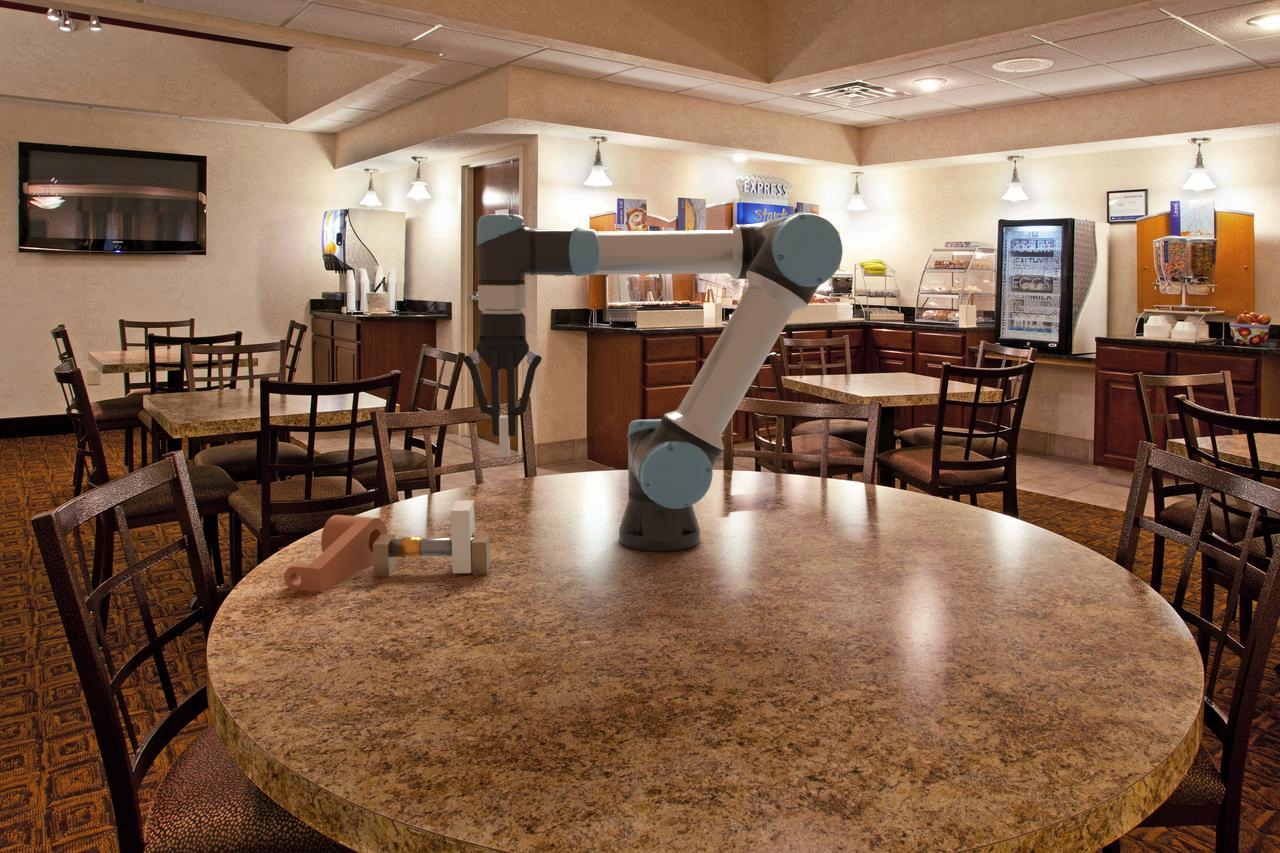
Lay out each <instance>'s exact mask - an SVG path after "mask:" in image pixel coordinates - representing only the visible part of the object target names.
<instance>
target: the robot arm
mask: <svg viewBox="0 0 1280 853" xmlns="http://www.w3.org/2000/svg"><path fill="white" fill-rule="evenodd" d="M476 228H477V230H476V259H477V260H476V262H477V265H476V266H477V297H478V298H477V300H478V305H477V306H478V309H479V310H480V311H481V313H479V315H478V337H479V338H478V343H477V344H476V347H475V350H472V352H470V353H469V354H465V356H463V358H462V360H463V363H464V364H465V365H466V367H467V368H468V370H469V373H470V375H471V380H472V383H473V387H474V391H475V394H476V398H477V403H478V406H479V410H480V413H482V414H486V415H489V416H490V417H491V423H492V424H491V428H492V431H491V432H492V435H493V437H498V440H499V442H498V443H499V444H498V445H499V448H498V449H499V458H508V457H510V454H511V449H510V448H511V447H510V446H511V445H510V444H511V442H510V439H511V438H510V437H515V436H516V433H517V416H518V415H521V414H524V413H525V412H527V409H528V405H529V400H530V395H531V392H532V391H531V390H532V387H533V382H534V378H535V374H536V370H537V368H538V367H539V365H540V363H541V362H542V359H543V356H542V355H541V354H539V353H536V352H534V351H533V350H531V349H530V345H529V343H528V342H527V336H526V334H527V330H526V329H527V327H526V319H527V318H526V315H525V313H523V312H522V311H524V310H525V309H526V281H525V280H526V279H525V278H526V275H527V276H528V275H530V276H537V275H538V276H553V277H564V276H576V277H582V276H593V275H597V276H599V275H600V276H601V275H602V276H603V275H612V276H613V275H694V274H695V275H699V274H701V275H703V274H705V275H706V274H707V275H708V274H709V275H711V274H714V275H715V274H718V275H719V274H722V275H723V274H728V275H729V276H730V277H731V278H732V279H734V280H747V283H748V285H747V286H748V287H747V289H746V290H745V292H744V293H743V296H742V297H741V299H740V301H739V302H738V304H737V306H736V308H735V310H734V311H733V312H732V314H731V316H730V318H729V320H728V321H727V324H726V325H725V327H724V328H723V330H722V332H721V334H720V336H719V337H718V339H717V341H716V343H715V344H714V346H713V347H712V349H711V351H710V353H709V355H708V356H707V357H706V360H705V361H704V363H703V365H702V367H700V370H699V372H698V373H697V375H696V377H695V378H694V380H693V382H692V384H691V386H690V387H689V389H688V391H687V392H686V394H685V396H684V398H683V399H682V401H681V403H680V404H679V406H678V408H677V409H675V410H674V411H670V412H667V413H664V414H663V416H662V418H655V419H654V418H653V419H649V418H648V419H647V418H646V419H634V420H632V421H631V422H630V423H629V424H628V429H627V430H628V432H627V436H626V439H628V442H627V444H628V445H627V446H628V448H627V449H628V453H627V455H628V463H627V464H628V466H627V467H628V468H627V469H628V470H627V472H628V476H627V477H628V478H627V479H628V480H627V481H628V485H627V488H628V489H627V490H628V491H627V492H628V493H627V494H628V499H627V503H626V507H625V509H624V513H623V516H622V519H621V523H620V525H619V531H618V540H619V543H620V544H621V545H623V546H625V547H627V548H630V549H633V550H639V551H646V552H672V551H674V552H675V551H682V550H686V549H690V548H693V547H695V546H697V545H699V543H700V541H701V529H700V525H699V522H698V519H697V516H696V513H695V510H694V509H695V508H694V507H693V505H695V504H696V503H698V502H700V500H702V499H703V498H704V497H705V495H706V494H707V492H708V491H709V490H710V487H711V484H712V481H713V474H714V471H713V468H714V466H715V464H716V462H717V461H718V460H719V457H720V456H721V454H722V452H723V451H724V448H725V447H724V443H723V438H722V436H723V435H722V434H723V433H724V431H725V429H726V427H727V426H728V424H729V422H730V421H731V419H732V417H733V415H734V414H735V412H736V410H737V409H738V408H739V405H740V404H741V402H742V401H743V399H744V398H745V395H746V393H747V392H748V390H749V388H750V386H751V385H752V383H753V381H754V380H755V378H756V377H757V375H758V373H759V372H760V369H761V368H762V366H763V364H764V363H765V361H766V359H767V358H768V356H769V354H770V353H771V351H772V349H773V347H774V345H775V344H776V342H777V340H778V338H779V336H780V335H781V333H782V332H783V330H784V328H785V326H787V323H788V321H789V319H790V318H791V316H792V314H793V313H794V312H795V311H799V310H801V309H802V310H803V309H807V307H808V305H809V303H810V302H811V300H812V298H813V297H814V295H815V294H816V292H817V290H818V288H819V287H820V286H821V285H823V284H824V283H826V282H828V280H830V279H831V278H832V277H833V276H834V275H835V274H836V272H837V271H838V269H839V267H840V266H841V262H842V259H843V258H842V257H843V244H842V238H841V235H840V233H839V232H838V229H837V228H836V227H835V226H834V224H832V222H830V221H829V220H828V218H827V219H826V218H825V217H823V216H821V215H819V214H815V213H811V212H810V213H809V212H804V211H802V212H796V213H792V214H789V215H788V216H783V217H778V218H774V219H771V220H767V221H762V222H757V223H750V224H748V223H747V224H734V225H733V226H731V228H730V229H729V230H659V231H658V230H655V231H653V230H644V231H643V230H639V231H638V230H637V231H635V230H634V231H633V230H630V231H627V230H626V231H623V230H622V231H619V230H618V231H615V230H614V231H611V230H610V231H596V229H594V228H593V229H592V228H582V227H551V228H550V227H549V228H547V227H544V228H543V227H542V228H540V227H539V228H535V227H528V226H526V224H525V219H524V217H523V216H522V215H520V214H509V213H508V214H507V213H506V214H505V213H492V214H487V213H486V214H483V215H481V216H480V217H479V218H478V220H477V227H476ZM479 357H480V358H481V359H482V360H483V362H484V363H485V364H486V366H487V367H488V368H490V380H491V381H490V389H491V390H490V393H491V395H490V396H491V397H490V398H491V405H489V400H488V397H487V392H486V389H485V387H484V386H485V385H484V383H483V378H482V375H481V371H480V368H479V363H480V359H479ZM525 357H526V358H527V359H526V363H527V364H528V365H529V366H528V368H527V372H526V376H525V379H524V380H525V381H524V385H523V389H522V393H521V398H520V402H519V405H517V397H516V396H517V395H516V394H517V393H516V391H517V390H516V388H517V387H516V385H517V384H516V368H517V367H519V365H520V363H521V362H522V361H523V359H524V358H525ZM501 370H505V371H506V386H507V388H506V394H507V395H506V397H507V398H506V399H507V415H505V414H504V415H501V380H500V378H501V376H500V375H501Z"/></svg>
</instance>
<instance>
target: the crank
mask: <svg viewBox="0 0 1280 853" xmlns="http://www.w3.org/2000/svg"><path fill="white" fill-rule="evenodd" d="M380 535H388V531H387V527H386V524H385V522H384V521H383V519H381V518H379V517H369V516H368V517H367V516H357V515H346V514H345V515H344V514H334V515H332V516H330V517H329V518H328V520H326V522H325V524H324V526H323V529H322V532H321V540H320V541H321V542H320V543H321V544H320V545H321V551H322V552H321V554H319V555H318V557H317V556H316V557H315V559H314V560H313V561H312V562H310V563H306V562H299V563H296V564H294V565H292V566H290V567H289V568H287V569H286V570H285V572H284V575H283V577H284V581H285V584H286V586H287V587H288V588H289V589H290V590H298V591H305V592H307V591H309V592H318V593H319V592H320V593H322V592H325V591H326V590H328V589H331V588H332V587H334V586H335V585H337V584H339V583H341V582H343V581H344V580H346V579H348V578H350V577H352V576H353V574H354V575H356V574H357V573H359V572H361V571H363V570H364V568H365V569H367V568H368V567H370V566H372V565H374V564H373V563H374V558H373V544H374V543H375V541H376V540H377V539H378V537H379V536H380ZM371 564H372V565H371ZM369 565H370V566H369ZM367 566H368V567H367ZM362 569H363V570H362ZM360 570H361V571H360ZM358 571H359V572H358ZM356 572H357V573H356ZM298 575H299V576H300V578H299V577H298ZM351 575H352V576H351Z"/></svg>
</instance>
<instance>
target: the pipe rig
mask: <svg viewBox="0 0 1280 853" xmlns="http://www.w3.org/2000/svg"><path fill="white" fill-rule="evenodd" d="M395 535H396V534H394V533H392V534H387V535H380V536H379V537H378V539H377V540H376V541H375V543H374V544H373V558H374V564H373V573H374V578H385V577H386V578H389V577H390V576H391V574H392V573H393V572H394V570H395V568H396V566H397V559H396V558H401V559H421V558H422V557H452V537H434V538H433V537H427V538H424V537H423V538H422V537H421V536H405V537H404V536H403V537H401V538H396V536H395ZM490 539H491V538H490V532H475V535H474V537H471V552H472V572H471V573H472V576H478V575H479V576H483V575H488V573H489V569H490V567H491V566H490V565H491V540H490Z"/></svg>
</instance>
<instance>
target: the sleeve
mask: <svg viewBox="0 0 1280 853" xmlns="http://www.w3.org/2000/svg"><path fill="white" fill-rule="evenodd" d="M450 528H451V529H450V530H451V531H450V532H451V535H450V536H451V538H452V556H451V560H452V561H451V562H452V563H451V564H452V566H451V567H452V574H471V573H472V552H471V537H474V535H475V533H476V531H475V529H476V527H475V500H473V499H471V500H465V499H464V500H455V501H454V504H453V506H452V508H451V510H450Z"/></svg>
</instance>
